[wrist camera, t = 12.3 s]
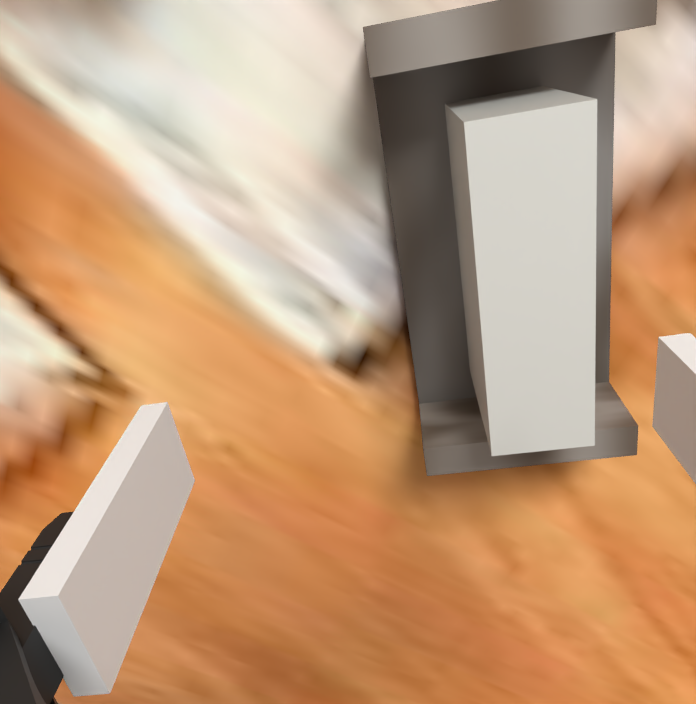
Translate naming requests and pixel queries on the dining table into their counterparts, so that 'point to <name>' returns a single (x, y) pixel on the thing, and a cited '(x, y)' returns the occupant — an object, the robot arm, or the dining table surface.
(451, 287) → the cradle rack
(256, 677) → the dining table surface
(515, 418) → the light grey block
